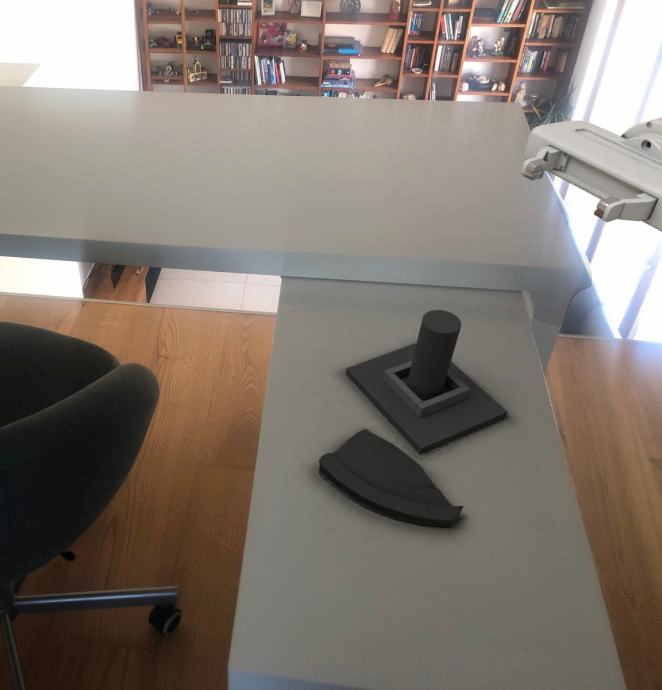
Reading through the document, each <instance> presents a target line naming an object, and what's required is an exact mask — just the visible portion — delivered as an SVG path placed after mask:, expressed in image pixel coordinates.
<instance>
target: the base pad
mask: <svg viewBox="0 0 662 690" xmlns="http://www.w3.org/2000/svg"><path fill="white" fill-rule="evenodd" d="M416 343H417V342H415V343H412V344H409V345H406V346H404V347H401V348H398V349H395V350H393V351H390V352H387V353H384V354H381V355H379V356H376V357H373V358H371V359H368V360H365V361H363V362H359V363H356V364H354V365H352V366H348V367H346V369H345V375H346V376H347V378H349V380H350V381H351V382H352V384H354V385H355V386H356V387H357V388H358V389H359V390H360V392H362V394H363V395H364V396H365V397H366V398H367V399H368V400H369V401H370V402H371V403H372V404H373V405H374V406H375V408H376V409H377V410H378V411H379V413H381V414H382V415H383V416H384V418H386V420H387V421H388V422H389V423H390V424H391V425H392V426H393V427H394V428H395V429H396V430H397V431H398V433H400V435H401V436H402V437H403V438H404V439H405V440H406V441H407V442H408V443H409V444H410V445H411V446H412V448H413V449H414V451H416V452H417V453H418V454H419V455H421V454H424V453H426V452H429V451H430V450H431V451H432V450H433V449H436V448H438V447H440V446H443V445H445V444H447V443H451V442H452V441H454V440H456V439H459V438H462V437H464V436H466V435H469V434H471V433H473V432H475V431H478V430H480V429H482V428H485V427H487V426H490V425H492V424H494V423H497V422H499V421H501V420H503V419H505V418H507V415H508V411H507V409H505V408H504V407H503V406H502V405H501V404H500V403H499V402H498V401H496V400H495V399H494V398H493V397H492V396H491V395H489V393H487V392H486V391H485V390H484V389H483V388H482V387H481V386H480V385H478V384H477V383H476V382H475V381H474V380H473V379H472V378H471V377H469V376H468V375H467V374H466V373H465V372H464V371H463V370H462V369H461V368H459V367H458V366H457V365H456V364H455V363H454V362H453V361H451V363H450V366H449V370H448V373H447V377H446V380H445V384H444V387H443V390H442V394H441V395H439V396H437V397H434V398H432V399H429V400H421V399H419V398H418V397H417V396H416V395H415V394H414V393H413V392H412V391H411V390H410V389H409V388H408V387H407V386H406V385H407V380H408V376H409V372H410V368H411V364H412V360H413V355H414V351H415V347H416Z"/></svg>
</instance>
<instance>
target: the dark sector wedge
mask: <svg viewBox="0 0 662 690" xmlns="http://www.w3.org/2000/svg"><path fill="white" fill-rule="evenodd" d="M318 463H319V468H318V474H319V475H320V476H321V478H322V479H324V480H325V481H326V482H327V483H328V484H329V485H331V486H332V487H333V488H334V489H335V490H336V491H338V492H339V493H341V494H342V495H343V496H345V497H346V498H347V499H349V500H351V501H352V502H354V503H356V504H358V505H359V506H361V507H363V508H365V509H367V510H369V511H372V512H374V513H376V514H379V515H381V516H385V517H387V518H391V519H393V520H396V521H401V522H405V523H410V524H415V525H419V526H420V525H421V526H430V527H445V528H448V527H449V528H451V527H453V526H455V525H456V524H457V523H458V520H459V516H460V515H461V512H462V510H463V508H464V507H465V506H464V505H453V504H452V503H451V502H450V501H449V500H448V499H447V497H446V496H445V495H444V494H443V493H442V491H441V489H439V487H437V486H436V485H435V484H434V482H433V481H432V479H431V478H430V477H429V475H428V474H427V473H426V471H425V470H424V468H423V467H422V466H421V465H420V463H418V462H417V461H416V460H415V459H413V458H412V457H410V455H408V454H407V453H406V452H405V451H403V450H401V448H399V447H397V446H396V445H395V444H393V443H392V442H390V441H388V440H387V439H385V438H382V436H379V435H377V434H375V433H373V432H372V431H370V430H369V429H367V428H364V429H362V430H359V431H358V432H356V433H355V434H353V435H352V436H351V437H349V438H348V439H347V440H346V441H344V443H342V445H340V447H339V448H337V449H336V450H335V451H333V452H329V451H328V452H327V453H325V454H323V455H321V457H319V459H318Z"/></svg>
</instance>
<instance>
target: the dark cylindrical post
mask: <svg viewBox="0 0 662 690" xmlns="http://www.w3.org/2000/svg"><path fill="white" fill-rule="evenodd" d="M461 329H462V321H461V320H460V318H459V316H457V315H456V314H454V313H452V312H450V311H448V310H445V309H444V310H443V309H432V310H429V311H426V312H425V313H424V314H423V316H422V320H421V323H420V327H419V331H418V336H417V340H416V342H415V343H416V347H415V351H414V355H413V360H412V364H411V368H410V372H409V376H408V380H407V385H406V386H407V387H408V388H409V389H410V390H411V391H412V392H413V393H414V394H415V395H416V396H417V397H418V398H419V399H421V400H429V399H432V398H434V397H437V396H439V395H441V394H442V390H443V387H444V384H445V380H446V377H447V373H448V370H449V366H450V363H451V362H452V360H453V357H454V353H455V349H456V346H457V342H458V339H459V335H460V332H461Z"/></svg>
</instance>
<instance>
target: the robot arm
mask: <svg viewBox="0 0 662 690" xmlns="http://www.w3.org/2000/svg"><path fill="white" fill-rule="evenodd" d="M523 157H524V159H525V161H524V162H523V164H522V167H521V170H520V175H521V176H523V177H524V178H525V179H528V180H530V181H535V180H539V179H543V177H544V174H545V172H548V173H550V174H552V175H553V176H556V177H558V178H559V179H561V180H563V181H565V182H567V183H568V184H571V185H573V186H574V187H576V188H578V189H580V190H582V191H584V192H585V193H588V194H590V195H591V196H593V197H595V198H596V199H599V201H598V202H597V204H596V209H595V210H594V211H593V215H594V216H595V217H597V218H599V219H601V220H602V221H603V222H605V223H610V222H612V221H616V220H620V221H631V222H642V223H643V224H646V225H647V226H649V227H651V228H653V229H656V230H657V231H660V232H661V233H662V116H661V117H658V118H654V119H649V120H646V121H643V122H639V123H637V124H634V125H632V126H631V127H629V128H628V129H626V130H625V131H624V132H623V133H622V134H621V135H619V134H616V133H615V132H612V131H609V130H607V129H605V128H603V127H601V126H598V125H597V124H594V123H591V122H588V121H584V120H565V121H559V122H552V123H546V124H541V125H537V126H535V127H533V128H532V129H531V131H530V133H529V135H528V138H527V141H526V144H525V147H524V155H523Z"/></svg>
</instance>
